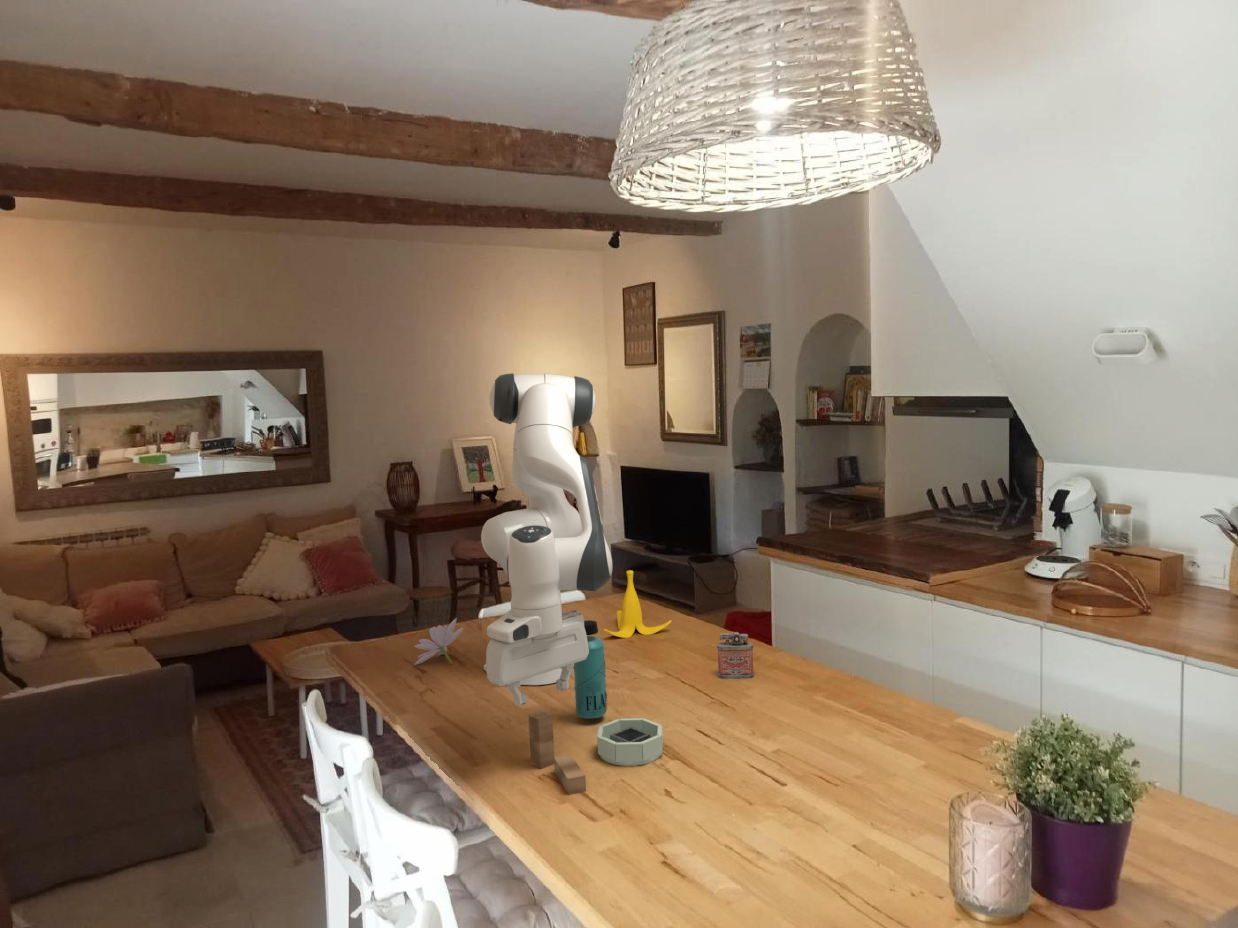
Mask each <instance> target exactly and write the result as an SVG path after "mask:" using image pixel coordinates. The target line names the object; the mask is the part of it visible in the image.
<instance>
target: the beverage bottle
mask: <svg viewBox="0 0 1238 928" xmlns="http://www.w3.org/2000/svg"><path fill="white" fill-rule="evenodd" d="M584 627H585V631H586V635H587V641H588V648H589V654H588V656H587V658H586V659H585V660H583V661H580V662H577V663H574V666H573V672H574V673H573V674H574V697H575V698H574V701H575V702H574V704H575V713H576V715H577V716H578V717H579V718H582V719H597V718H601V717H603V716H605V715H606V714H607V710H608V702H607V701H608V695H607V694H608V693H607V691H608V690H607V680H606V661H605V651H604V649H605V647H604V646H605V644H604V642H603V641H602V640H601V639H600V638H599V637H598V636H595V635H596V634H598V632H599V628H598V622H597V621H595V620H591V619H590V620H584ZM593 635H594V636H593Z"/></svg>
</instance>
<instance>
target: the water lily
mask: <svg viewBox="0 0 1238 928" xmlns="http://www.w3.org/2000/svg"><path fill="white" fill-rule="evenodd" d="M457 620H458V619H457V617H456V618H454V619H453V620H452V621H451V622H450V624H449V625H447V624H445V626H444V627H443V626H442V625H441V624H439V625H437V627H436V626H432V627H430V628H429V635H430V638H431V639H427V638H422V639H418V641H419V644H418V643H417V644H416V645H414V648H417V649H419V650H424V651H426V652H424V653H422V654H420V655H418V657H417V659H418V660H416V661H415V663H414V664H413V667H414V666H417V665H420V664H422V663H425V662H426V661H428V660H429V659H431V658H433V657H434V656H436V654H437V653H438V655H439V656H442V655H444V656H445V657H446V659H447V661H448V663H449V664H450V665H452V664H454V662H453V660H452V659H451V657H450V656H449V654H448V653H447V652H448V647H447V646H449V645H451V644H452V643H453V642H455V640H457V638H458V637H459V636H460V635H461V634H462V632H463V630H464V629H465V628H464V627H460V628H459V629H457V630H456V631H454V630H455V627H456V625H457Z"/></svg>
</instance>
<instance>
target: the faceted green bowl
mask: <svg viewBox="0 0 1238 928" xmlns="http://www.w3.org/2000/svg"><path fill="white" fill-rule="evenodd" d="M629 727H633V728H636V729H638V730H641V731H643V732H646V733H649V734H650V736H651V738H649V739H647V740H644V741H642V742H618V743H617V742H615V741H612V740H610V735H611V734H614V733H616V732H619V731H621V730H624V729H626V728H629ZM596 739H597V755H599V757H600V759H601V760H602V761H604V762H605V763H609V764H611V765H614V766H621V767H637V766H642V765H643V766H644V765H647V764H651V763H653V762H655V761H656V760H658V759H660V758H661V757H662V756H663V753H664V752H663V751H664V747H663V745H664V744H663V743H664V742H663V741H664V740H663V739H664V738H663V725H662V724H660V723H658V722H655V721H652V720H650V719H647V718H643V717H640V718H636V717H634V718H632V717H631V718H617V719H614V720H612V721H609V722H607V723H604V724H602V725H599V726H598V731H597V738H596Z"/></svg>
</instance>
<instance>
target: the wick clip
mask: <svg viewBox="0 0 1238 928" xmlns="http://www.w3.org/2000/svg"><path fill="white" fill-rule="evenodd" d="M649 738H651V736H650V734H649V733H646V732H643V731H641V730H638V729H636V728H633V727H629V728H626V729H624V730H621V731H619V732H616V733H614V734H611V735H610V740H612V741H615V742H617V743H618V742H642V741H644V740H647V739H649Z"/></svg>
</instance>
